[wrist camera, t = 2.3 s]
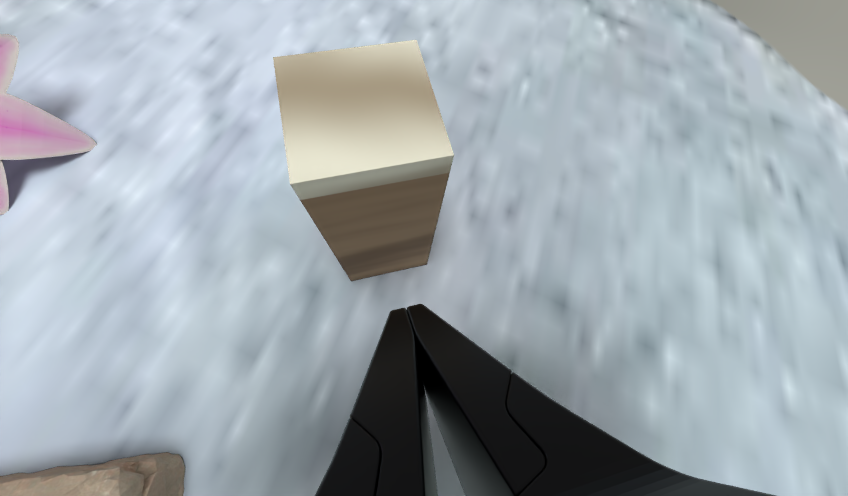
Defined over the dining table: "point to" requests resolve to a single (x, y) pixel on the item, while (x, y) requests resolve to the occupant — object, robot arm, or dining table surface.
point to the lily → (29, 125)
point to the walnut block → (366, 152)
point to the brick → (103, 478)
